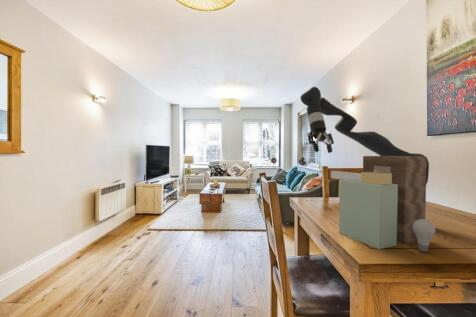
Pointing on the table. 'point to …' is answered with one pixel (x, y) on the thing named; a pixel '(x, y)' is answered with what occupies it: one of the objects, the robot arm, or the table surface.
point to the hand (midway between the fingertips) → (323, 152)
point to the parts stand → (404, 189)
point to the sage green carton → (369, 213)
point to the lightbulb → (423, 233)
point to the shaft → (364, 177)
